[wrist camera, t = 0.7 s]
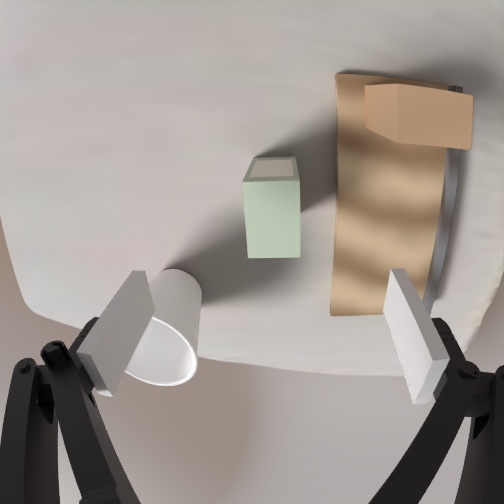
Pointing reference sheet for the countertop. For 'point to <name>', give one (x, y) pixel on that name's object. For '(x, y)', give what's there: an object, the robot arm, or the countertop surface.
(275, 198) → the carton
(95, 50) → the countertop surface
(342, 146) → the wavy tan tray
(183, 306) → the cup
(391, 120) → the faced carton
